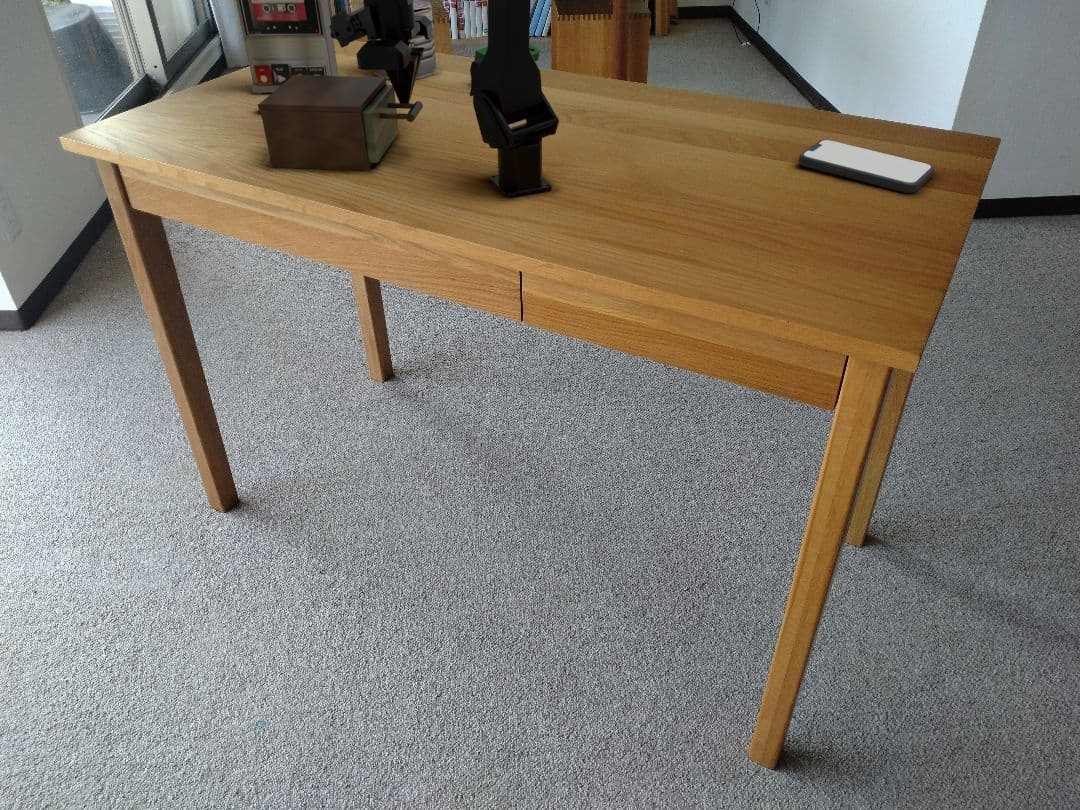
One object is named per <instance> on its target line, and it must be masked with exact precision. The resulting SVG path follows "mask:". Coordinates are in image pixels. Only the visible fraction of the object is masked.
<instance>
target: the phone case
mask: <svg viewBox="0 0 1080 810" xmlns="http://www.w3.org/2000/svg"><path fill="white" fill-rule="evenodd" d="M798 164H799V165H800V166H802V167H803V168H804V167H805V168H808V169H813V170H816V171H820V172H824V173H828V174H831V175H835V176H839V177H843V178H847V179H850V180H855V181H857V182H862V183H864V184H865V183H866V184H870V185H872V186H873V185H874V186H877V187H880V188H885V189H887V190H893V191H897V192H900V193H905V194H914V193H916V192H917V191H918V190H919V189H921V187H923V186H924V185H925V184H926V183H927V182H928V181H929V180H930V179H931V178H932V177H933V175H934V172H935V167H934V166H933V165H932V164H929V163H925V162H921V161H917V160H913V159H910V158H905V157H902V156H901V157H900V156H897V155H892V154H888V153H884V152H882V151H881V152H880V151H876V150H873V149H872V150H871V149H869V148H863V147H859V146H855V145H851V144H848V143H843V142H839V141H835V140H830V139H821V140H819V141H817V142H816V143H814V144H813V145H811V146H810V147H809V148H807V149H806V150H804V151H803V152H801V153H800V154H799V157H798Z"/></svg>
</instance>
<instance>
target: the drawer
mask: <svg viewBox="0 0 1080 810" xmlns="http://www.w3.org/2000/svg"><path fill="white" fill-rule="evenodd" d="M396 100H397V99H396V93H395V90H394V88H393V86H392V84H387V85H386V86H385V87H384V88H383V89H382V90H381V91H380V93H379V94H378V95H377V94H376V95H375V97H374V98H373V99H372V100H371V101H370V102H369V104H368V105H367V106H366V107H365V108H364V111H363V120H364V128H365V135H366V143H367V150H368V158H369V163H374V164H378V162H380V160H381V159H382V157H383V155H385V153H386V151H387V150H388V149H389V148H390V146H391V144H392V143H393V142H394V140H395V139H396V137H397V136H398V135H399V133H400V129H399V120H405V121H407V122H409V123H413V122H414V121H415V119H416V118H417V117H418V116H419V114H420V112H421V111H422V110H423V107H424V105H423V102H422V101H420V100H417V101H415V102H414V103H411V102H410V103H400V102H397V101H396ZM397 109H398V110H399V109H400V110H401V109H402V110H403V109H404V110H408V112H407V113H399V112H398V111H397Z"/></svg>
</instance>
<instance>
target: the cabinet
mask: <svg viewBox="0 0 1080 810" xmlns="http://www.w3.org/2000/svg"><path fill="white" fill-rule="evenodd" d="M386 85H388V84H387V79H386V77H379V76H355V75H354V76H351V75H349V76H348V75H340V76H316V75H293V76H292V77H291V78H290V79H289V80H287V81H286V82H285V83H284V84H283V85H281V86H280V87H279V88H278V89H276V90H275V91H274V92H271V93H270V94H269V95H268V96H267V97H266V98H264V99H263V100H262V101H260V102H261V103H260V102H259V103H260V104H259V103H258V104H259V106H260V110H259V112H260V116H261V120H262V126H263V130H264V136H265V140H266V141H265V142H266V144H267V151H268V155H269V161H270V164H271V168H278V169H305V170H307V169H308V170H331V171H336V170H337V171H338V170H339V171H361V172H363V171H364V172H367V171H368V172H369V171H370V169H371V168H372V167H373V165H374V164H375V163H369V158H368V150H367V143H366V135H365V128H364V120H363V112H362V111H363V109H364V108H365V107H366V106H367V105H368V104H369V102H370V101H371V100H372V99H373V98H374V97H375V95H376V94H377V95H378V94H379V93H380V91H381V90H382V89H383V88H384V87H385V86H386Z"/></svg>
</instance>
